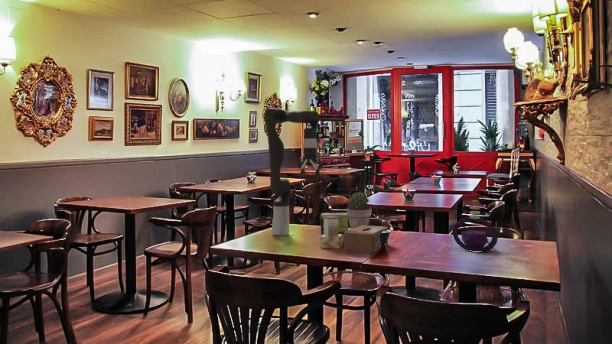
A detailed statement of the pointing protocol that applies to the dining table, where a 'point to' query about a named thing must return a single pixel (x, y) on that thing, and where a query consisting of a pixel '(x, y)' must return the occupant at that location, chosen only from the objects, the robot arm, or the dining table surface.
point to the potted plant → (359, 209)
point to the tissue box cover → (363, 239)
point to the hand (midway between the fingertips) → (310, 176)
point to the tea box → (342, 222)
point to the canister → (331, 226)
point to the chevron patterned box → (331, 241)
